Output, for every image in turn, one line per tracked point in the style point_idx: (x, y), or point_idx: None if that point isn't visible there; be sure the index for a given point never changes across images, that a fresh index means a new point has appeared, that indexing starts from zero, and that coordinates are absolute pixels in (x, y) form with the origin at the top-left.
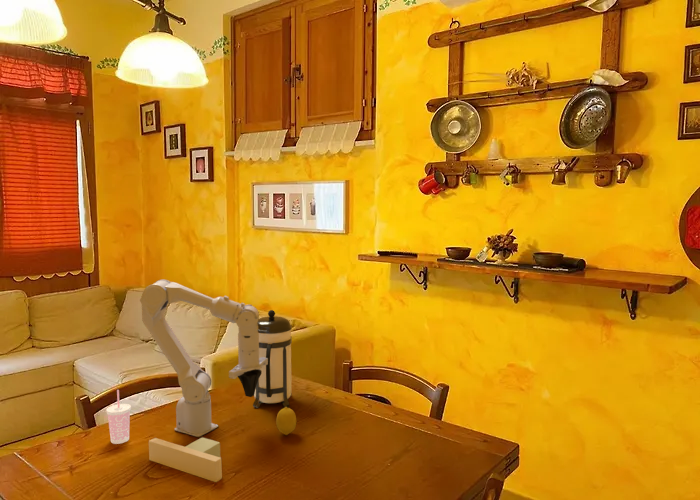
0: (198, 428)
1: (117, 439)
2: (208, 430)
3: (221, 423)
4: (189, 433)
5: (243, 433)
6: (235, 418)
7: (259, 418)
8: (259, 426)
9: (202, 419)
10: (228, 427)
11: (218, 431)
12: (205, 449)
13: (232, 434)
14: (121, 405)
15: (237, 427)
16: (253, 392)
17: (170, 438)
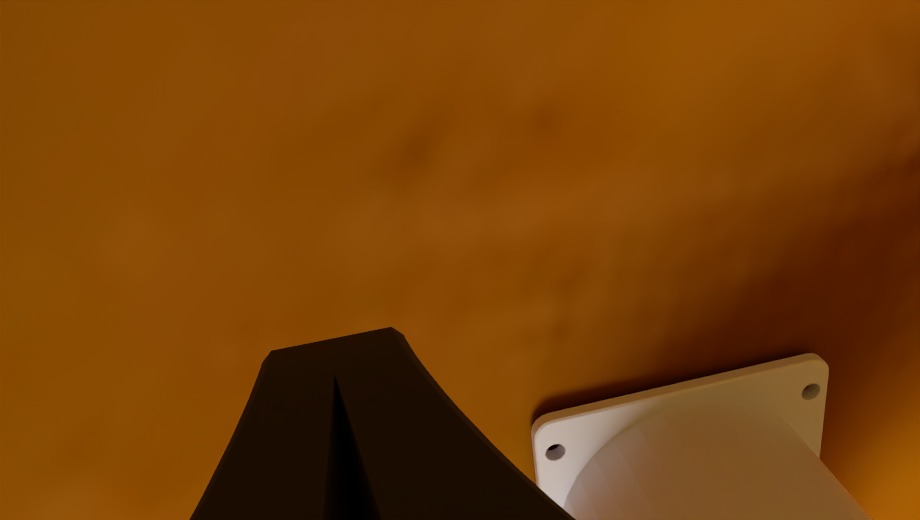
0: (801, 443)
1: None
2: (689, 392)
3: None
4: (818, 456)
5: (483, 68)
6: None
7: (5, 272)
8: (180, 65)
9: (822, 498)
10: (470, 336)
11: (606, 331)
12: None
13: (581, 155)
14: None
15: (405, 263)
16: (323, 384)
17: (913, 496)
